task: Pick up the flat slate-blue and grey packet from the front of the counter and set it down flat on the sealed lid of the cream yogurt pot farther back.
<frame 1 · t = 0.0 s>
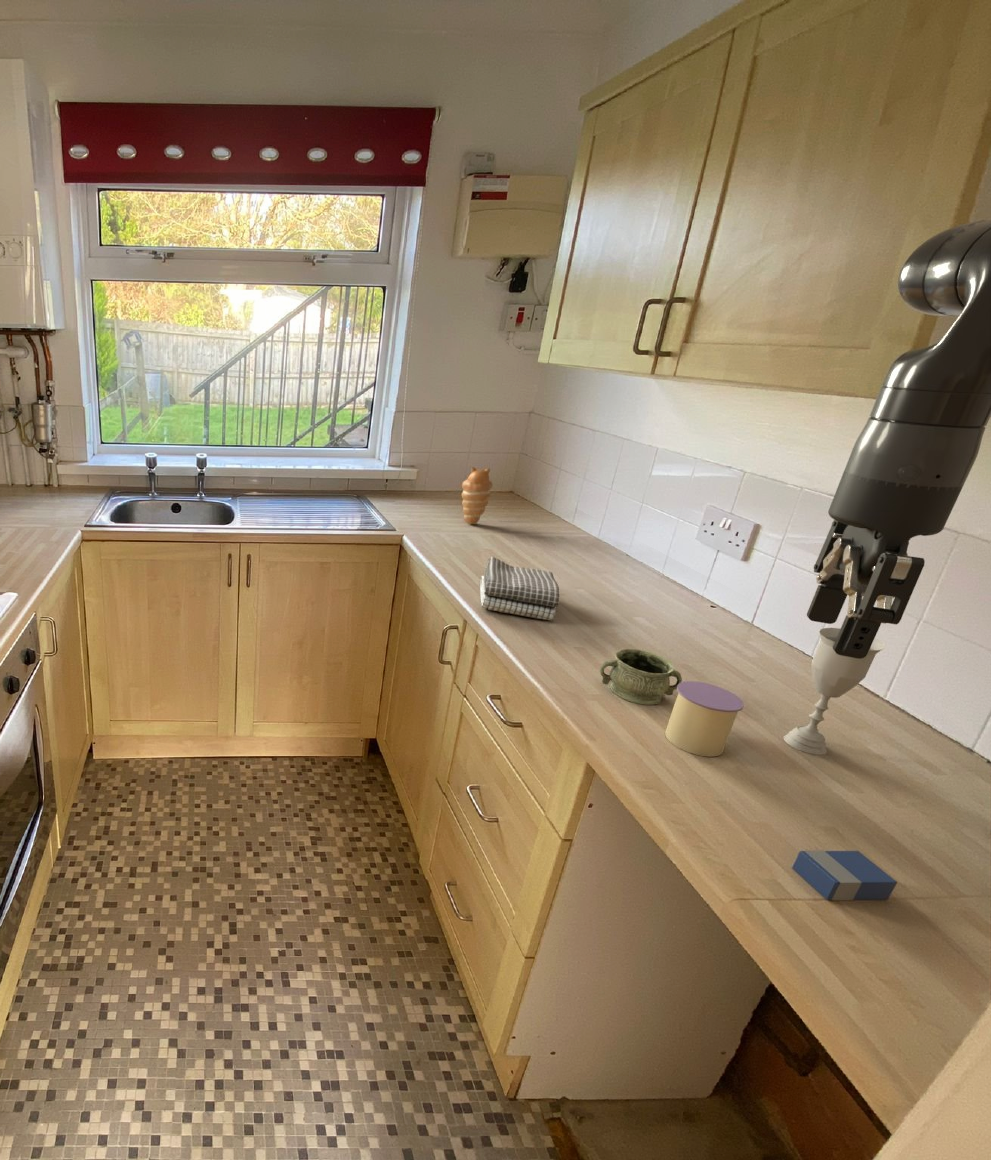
hand: (832, 637, 62), 30 cm above the worktop, tool pointing down, fingers open, 8 cm apart
chalice: (804, 745, 97), on the worktop
packet: (838, 883, 72), on the worktop
towel: (514, 603, 144), on the worktop
vessel: (634, 693, 109), on the worktop
yogurt pot: (693, 741, 97), on the worktop
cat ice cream: (470, 524, 202), on the worktop
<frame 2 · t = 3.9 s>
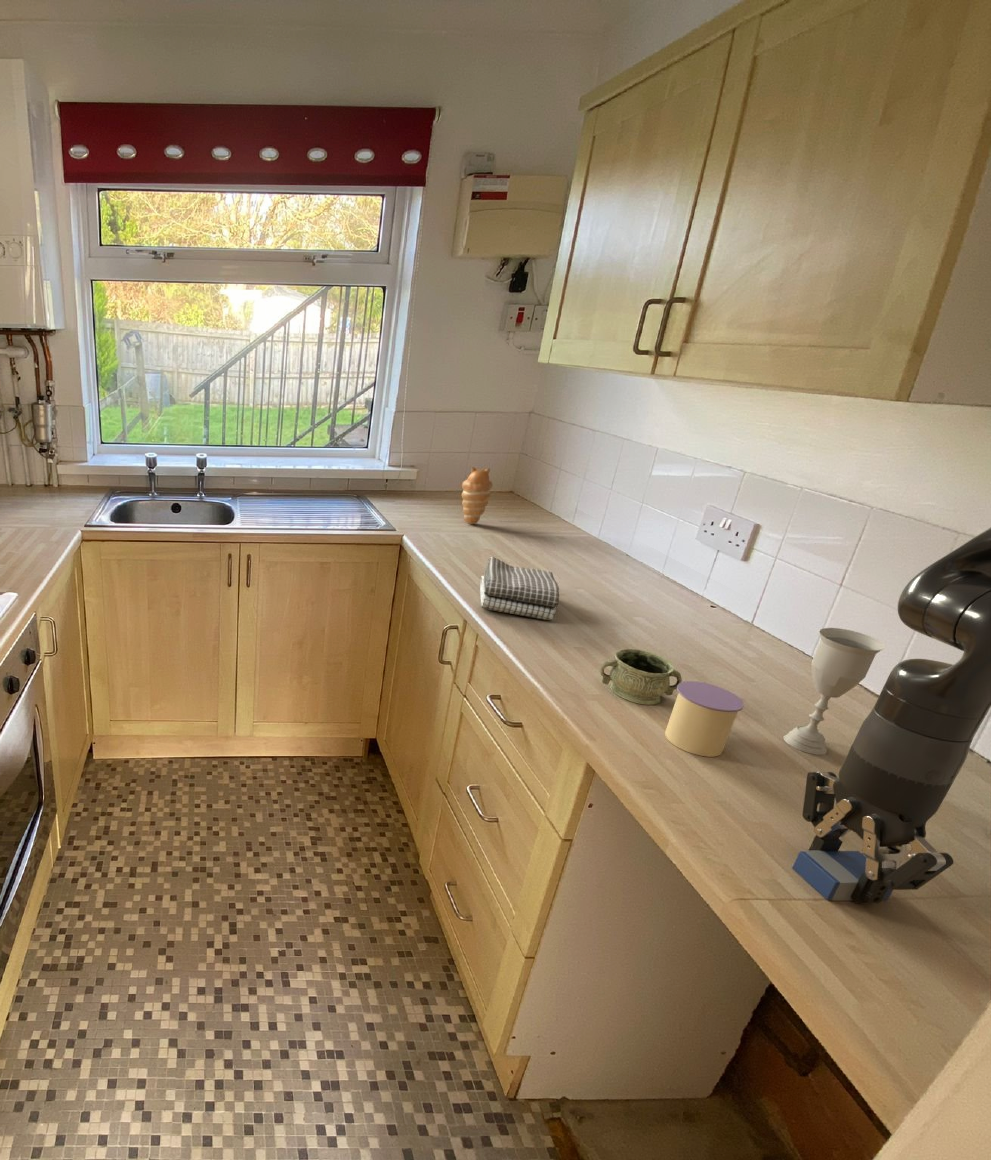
hand: (839, 881, 72), 0 cm above the worktop, tool pointing down, fingers closed on packet, 4 cm apart
packet: (838, 883, 72), on the worktop, touching gripper
everything else where it was.
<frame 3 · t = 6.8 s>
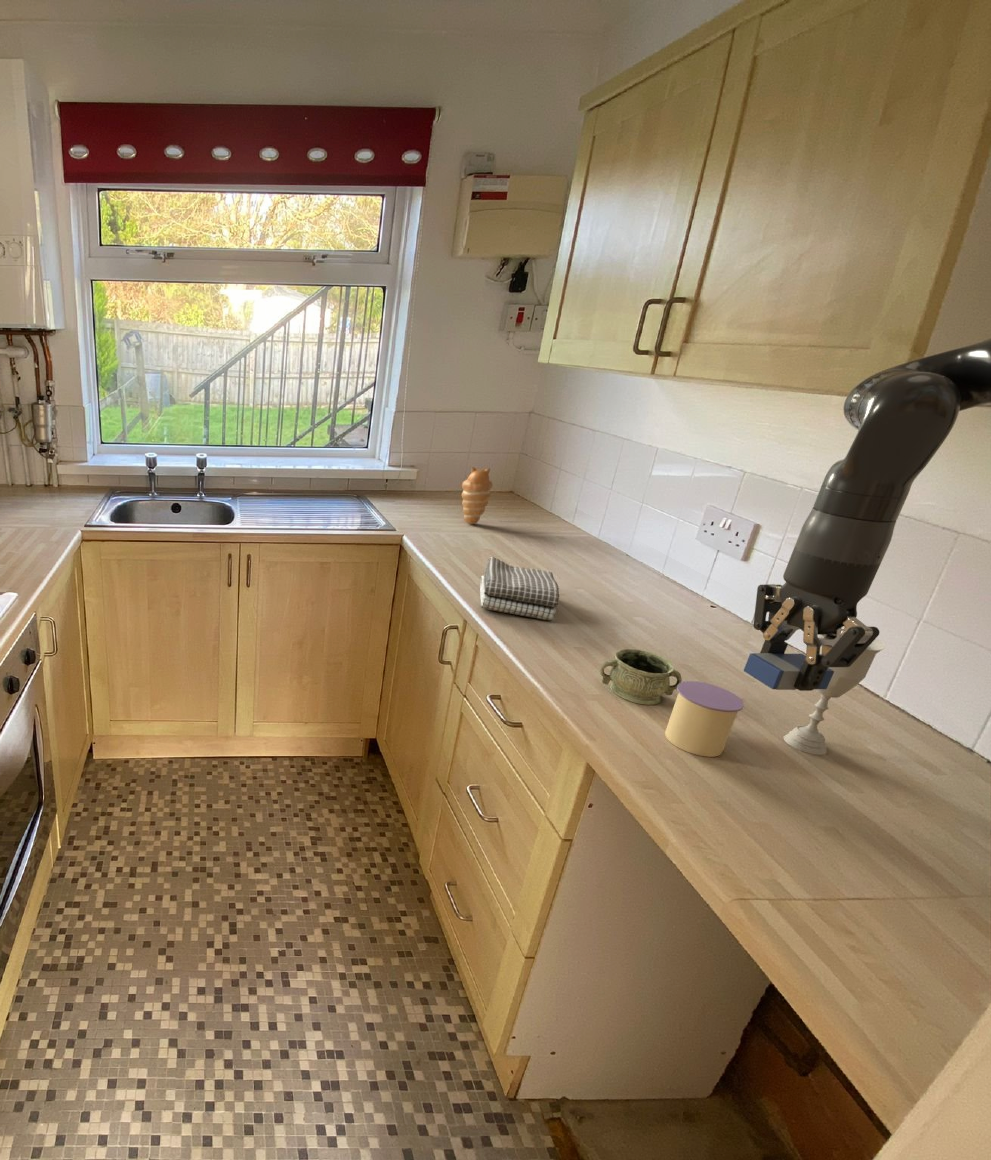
hand: (784, 677, 80), 18 cm above the worktop, tool pointing down, fingers closed on packet, 4 cm apart
packet: (783, 680, 80), point 17 cm above the worktop, touching gripper
everything else where it was.
when the fingers open (9 cm above the worktop, at t = 10.1 s): packet stays where it is, resting on yogurt pot.
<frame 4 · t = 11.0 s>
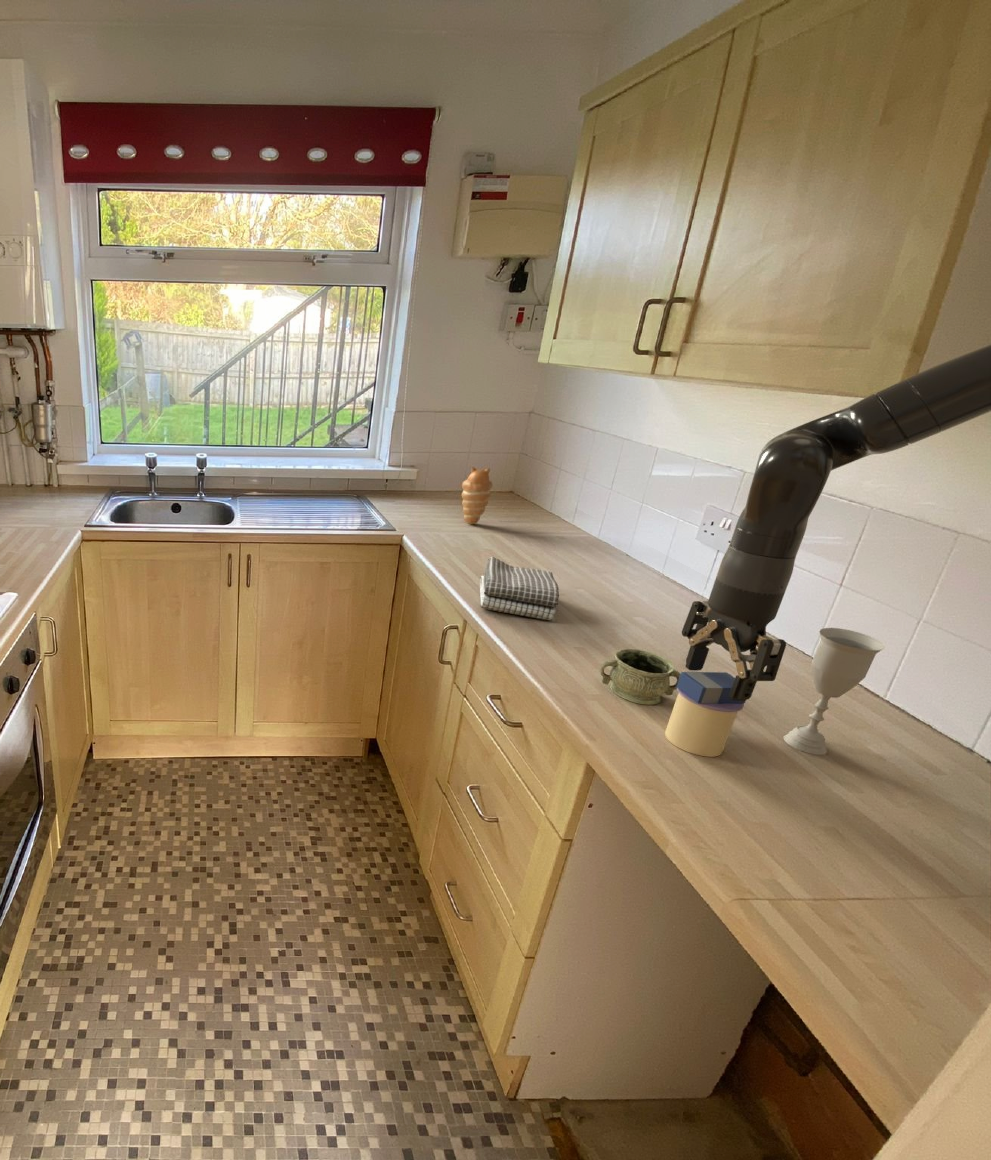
hand: (714, 683, 93), 10 cm above the worktop, tool pointing down, fingers open, 8 cm apart
packet: (709, 695, 93), point 8 cm above the worktop, touching yogurt pot
yogurt pot: (693, 741, 97), on the worktop, touching packet
everything else where it was.
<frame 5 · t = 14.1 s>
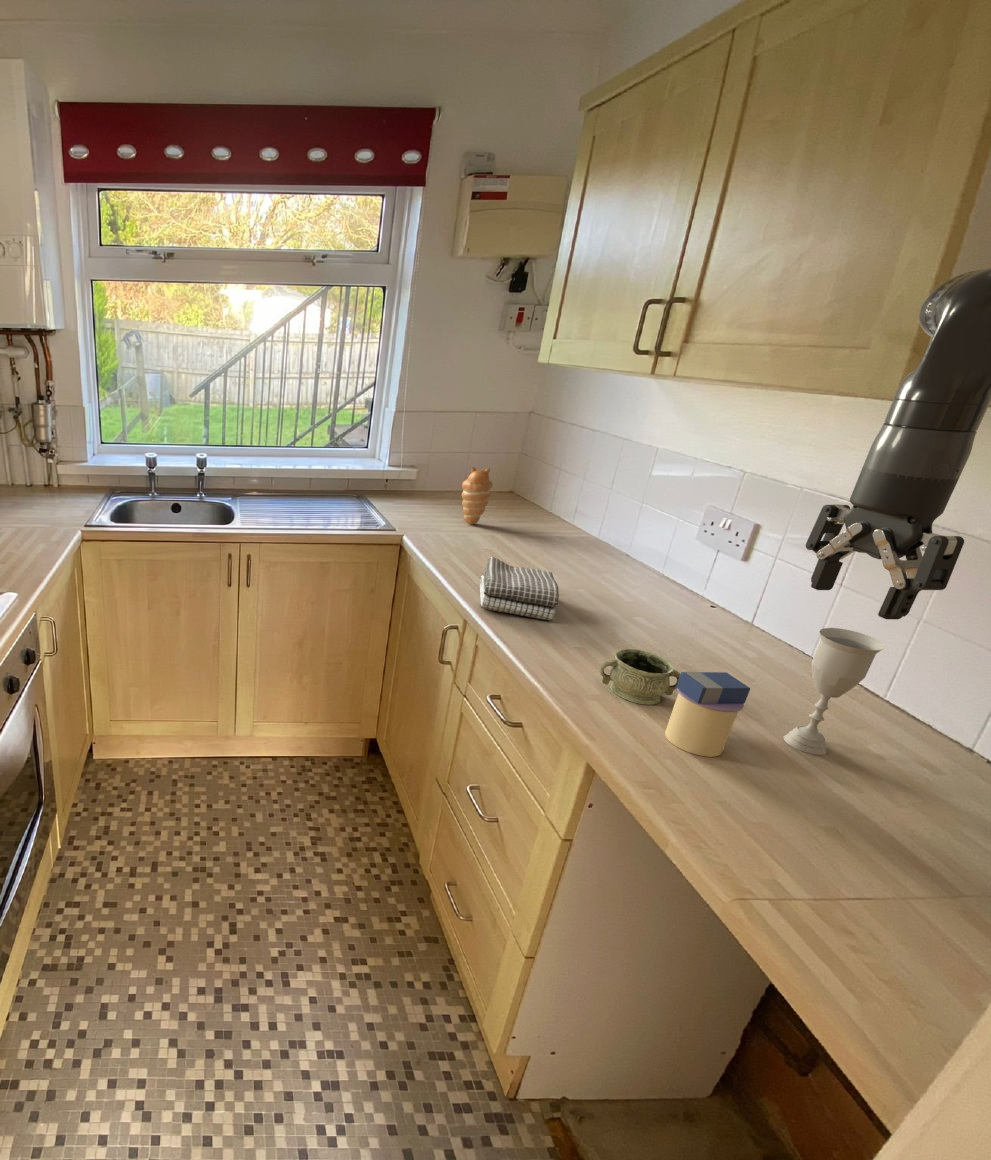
hand: (852, 602, 76), 28 cm above the worktop, tool pointing down, fingers open, 8 cm apart
nothing on the worktop moved.
at the end: packet 0.0 cm off-centre on the yogurt pot, point 8.3 cm above the yogurt pot's base; packet tilted 0°; yogurt pot tilted 0° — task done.
